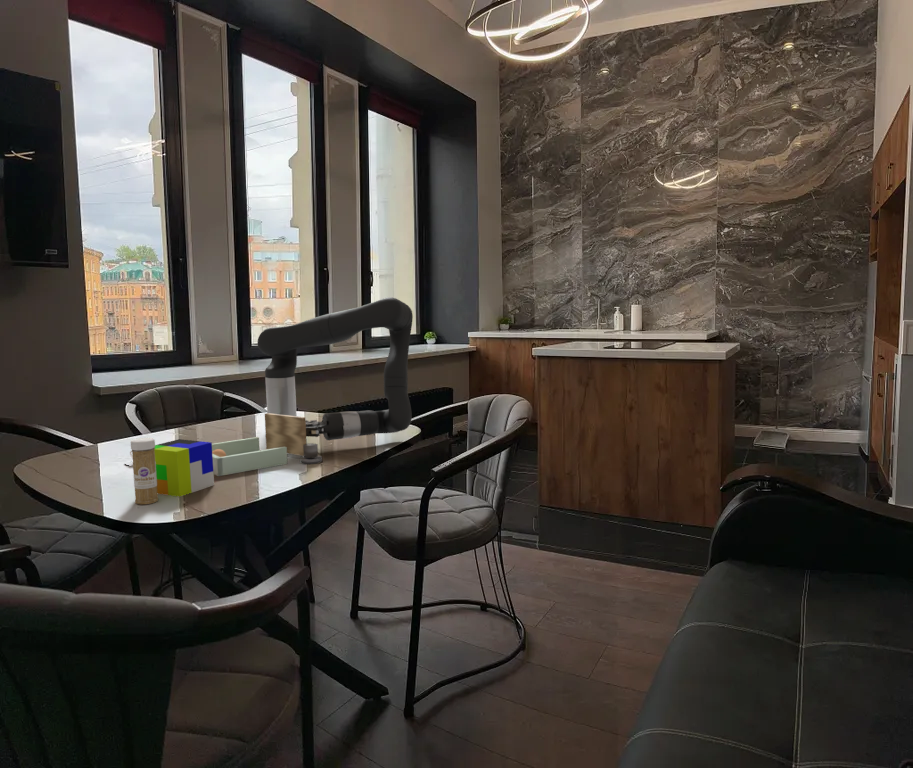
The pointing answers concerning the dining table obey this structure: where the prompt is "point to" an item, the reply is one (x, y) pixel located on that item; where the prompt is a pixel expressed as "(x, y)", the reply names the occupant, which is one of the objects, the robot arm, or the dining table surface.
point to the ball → (219, 453)
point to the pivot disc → (311, 460)
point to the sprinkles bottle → (144, 470)
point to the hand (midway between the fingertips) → (279, 431)
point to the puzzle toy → (183, 467)
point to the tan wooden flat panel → (288, 435)
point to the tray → (246, 456)
